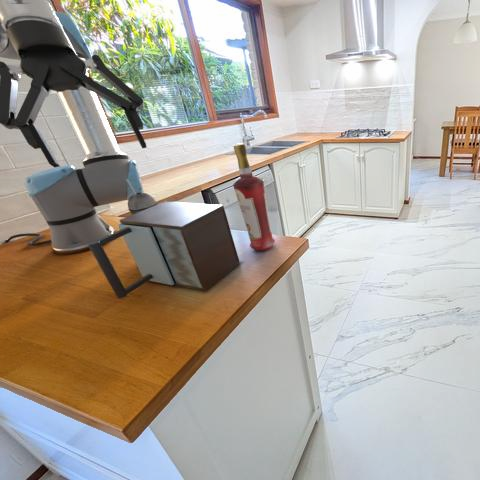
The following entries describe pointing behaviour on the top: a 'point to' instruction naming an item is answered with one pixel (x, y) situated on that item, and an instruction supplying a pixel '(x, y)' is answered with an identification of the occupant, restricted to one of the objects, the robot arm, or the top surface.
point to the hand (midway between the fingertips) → (102, 155)
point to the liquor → (252, 202)
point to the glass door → (143, 254)
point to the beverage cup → (139, 201)
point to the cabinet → (191, 241)
